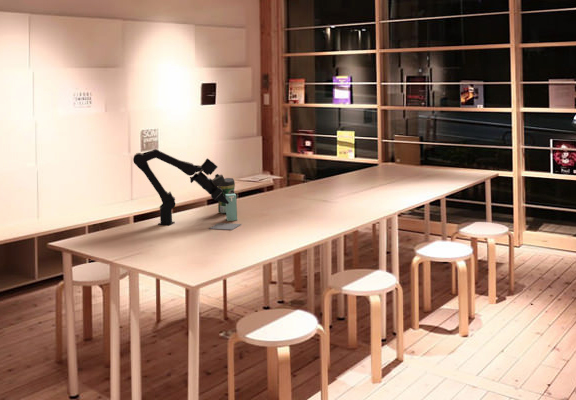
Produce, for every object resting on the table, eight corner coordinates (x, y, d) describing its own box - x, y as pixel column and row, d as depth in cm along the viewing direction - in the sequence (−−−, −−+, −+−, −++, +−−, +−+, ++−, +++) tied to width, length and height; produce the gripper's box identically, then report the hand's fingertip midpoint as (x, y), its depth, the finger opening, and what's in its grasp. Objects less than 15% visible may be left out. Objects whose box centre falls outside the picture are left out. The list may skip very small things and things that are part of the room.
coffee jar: (227, 210, 384) (226, 176, 381) (238, 211, 380) (237, 177, 376) (215, 213, 377) (214, 179, 373) (226, 214, 372) (225, 180, 369)
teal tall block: (227, 220, 357) (226, 195, 354) (226, 218, 362) (225, 194, 359) (237, 220, 358) (236, 195, 355) (235, 218, 363) (235, 193, 360)
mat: (231, 230, 336) (231, 229, 336) (208, 228, 340) (208, 228, 340) (241, 224, 347) (241, 224, 347) (218, 223, 351) (218, 222, 351)
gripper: (217, 172, 345) (240, 193, 349) (213, 167, 363) (235, 187, 367) (201, 189, 345) (225, 209, 349) (198, 183, 363) (221, 203, 367)
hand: (227, 201), depth 358 cm, fingers open, 9 cm apart
